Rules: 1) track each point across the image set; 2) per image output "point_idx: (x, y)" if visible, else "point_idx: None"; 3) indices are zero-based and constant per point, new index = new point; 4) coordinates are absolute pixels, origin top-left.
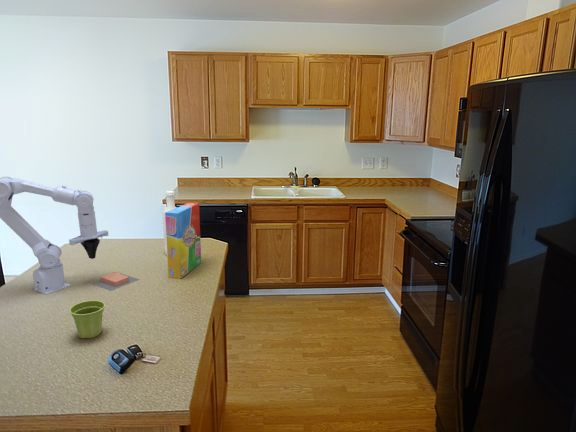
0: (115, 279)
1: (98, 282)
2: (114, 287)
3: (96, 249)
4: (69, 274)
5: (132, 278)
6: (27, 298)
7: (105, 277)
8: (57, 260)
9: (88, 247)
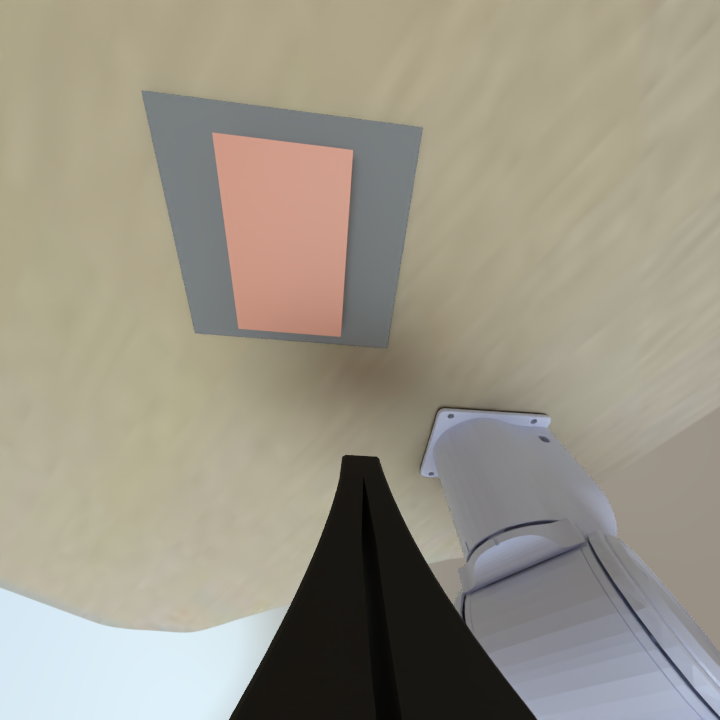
0: (316, 201)
1: (355, 329)
2: (364, 160)
3: (323, 545)
4: None
5: (179, 176)
6: (587, 438)
7: (329, 304)
8: (626, 572)
9: (472, 638)
